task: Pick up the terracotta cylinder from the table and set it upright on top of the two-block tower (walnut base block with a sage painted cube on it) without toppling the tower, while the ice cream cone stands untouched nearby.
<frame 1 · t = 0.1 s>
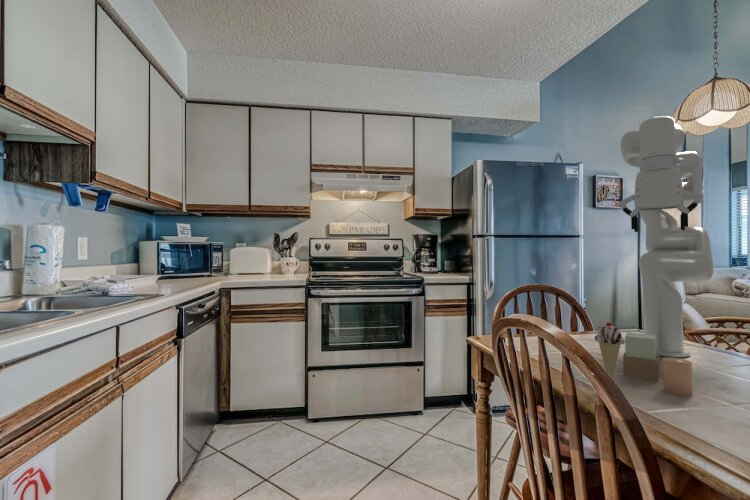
hand: (658, 230, 96), 37 cm above the table, tool pointing down, fingers open, 9 cm apart
cylinder: (677, 392, 81), on the table
middle block: (640, 355, 93), point 5 cm above the table, touching base block
base block: (641, 375, 93), on the table, touching middle block
ice cream cone: (610, 388, 84), on the table
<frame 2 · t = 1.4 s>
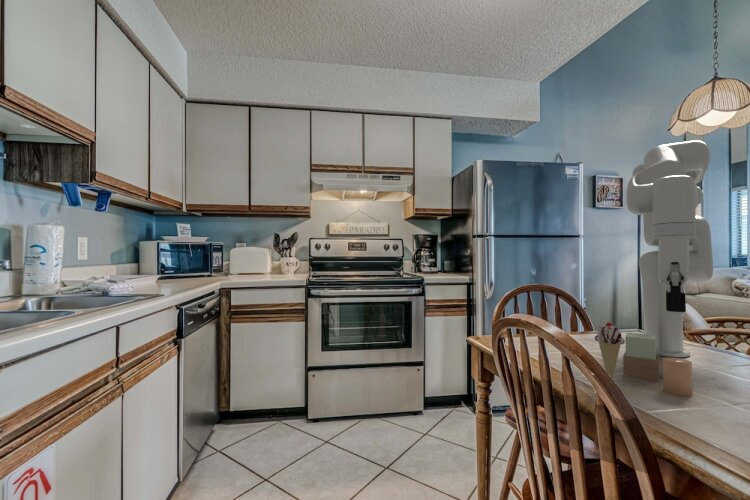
hand: (675, 309, 81), 18 cm above the table, tool pointing down, fingers open, 9 cm apart
nothing on the table moved.
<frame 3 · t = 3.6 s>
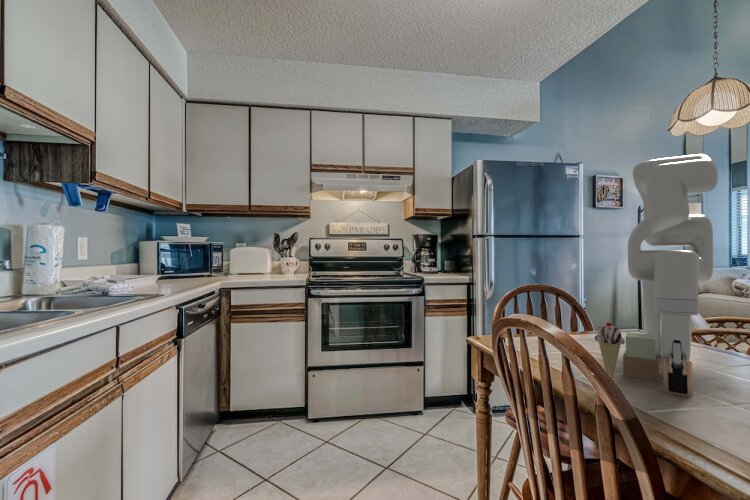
hand: (677, 387, 81), 1 cm above the table, tool pointing down, fingers closed on cylinder, 5 cm apart
cylinder: (677, 392, 81), on the table, touching gripper
everything else where it was.
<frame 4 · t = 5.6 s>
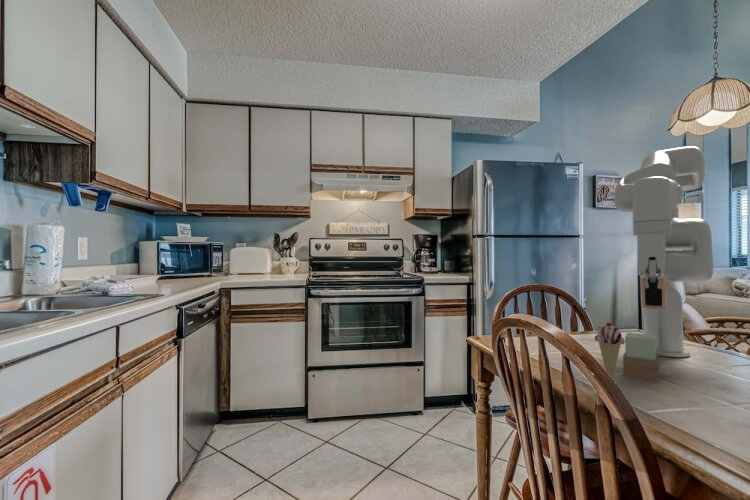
hand: (653, 303, 89), 19 cm above the table, tool pointing down, fingers closed on cylinder, 5 cm apart
cylinder: (653, 307, 89), point 18 cm above the table, touching gripper
everything else where it was.
when the fingers open (12 cm above the table, at t = 7.6 s): cylinder drops 2 cm, point 10 cm above the table.
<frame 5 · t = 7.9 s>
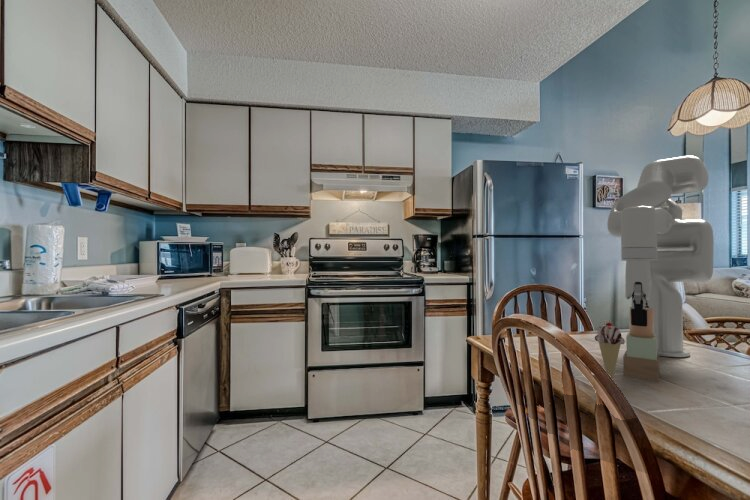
hand: (640, 322, 94), 13 cm above the table, tool pointing down, fingers open, 8 cm apart
cylinder: (641, 335, 93), point 10 cm above the table
everything else where it was.
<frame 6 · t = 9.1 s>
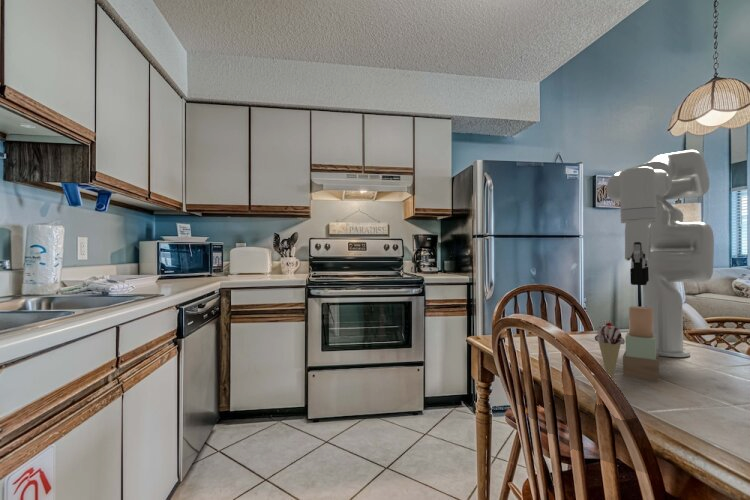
hand: (640, 283, 94), 23 cm above the table, tool pointing down, fingers open, 9 cm apart
cylinder: (641, 335, 93), point 10 cm above the table, touching middle block
middle block: (641, 355, 93), point 5 cm above the table, touching cylinder
base block: (641, 375, 93), on the table
everything else where it was.
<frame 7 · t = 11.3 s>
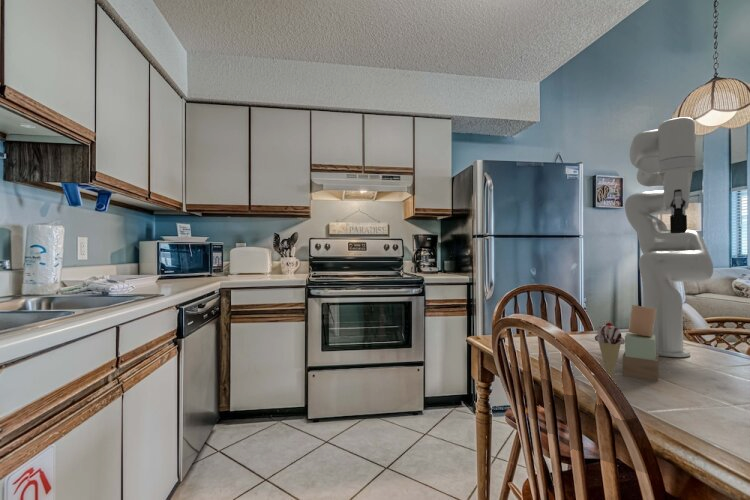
hand: (678, 232, 96), 36 cm above the table, tool pointing down, fingers open, 9 cm apart
cylinder: (639, 334, 93), point 10 cm above the table, tilted 10°, touching middle block
middle block: (640, 355, 93), point 5 cm above the table, touching base block, cylinder
base block: (640, 375, 93), on the table, touching middle block
everything else where it was.
at the end: cylinder 0.4 cm off-centre on the middle block, point 5.4 cm above the middle block's base; cylinder tilted 9°; middle block tilted 0° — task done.
